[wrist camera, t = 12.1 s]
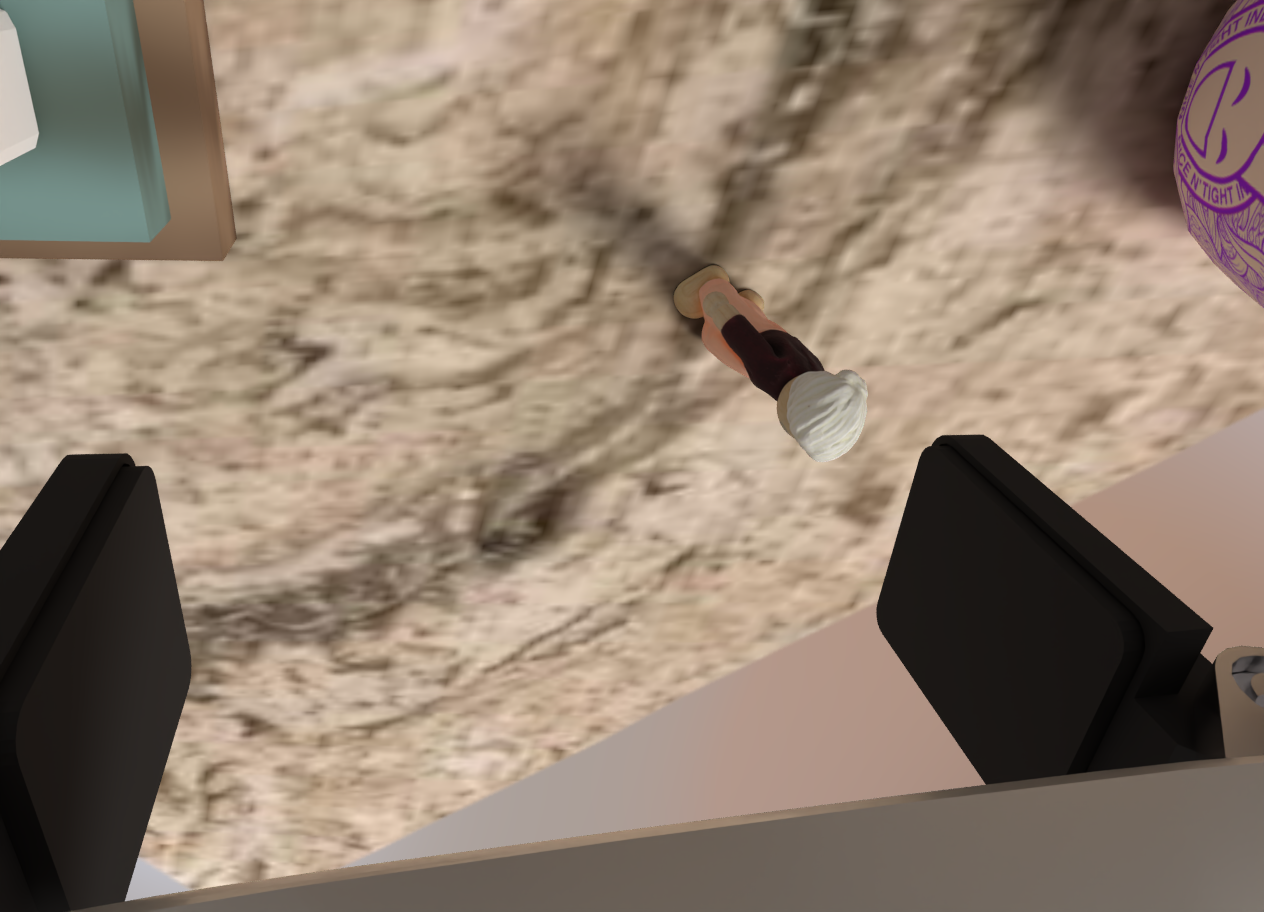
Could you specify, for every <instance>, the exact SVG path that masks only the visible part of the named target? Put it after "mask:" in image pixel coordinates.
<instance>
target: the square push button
mask: <svg viewBox="0 0 1264 912" xmlns="http://www.w3.org/2000/svg"><path fill="white" fill-rule="evenodd" d="M0 9H2V10H4V11H6V12H7V13H8V15H9V17H10V19H11V21H12V23H13V25H14V26H15V28H16V31H17V36H18V40H19V45H20V49H21V54H22V58H23V63H24V67H25V72H26V76H27V81H28V86H29V90H30V95H31V99H32V104H33V108H34V113H35V117H36V122H37V127H38V131H39V135H38V139H37V144H36V148H34V149H32V150H30V151H28V152H26V153H24V154H22V155H20V156H19V157H17V158H15V159H13V160H11V161H9V162H7V163H5V164H3V165H1V166H0V258H36V259H115V260H194V261H223V260H224V258H225V257H226V255H227V253H228V252H229V250H230V248H231V247H232V245H233V244H234V242H235V240H236V239H237V238H236V231H235V223H234V216H233V209H232V202H231V195H230V188H229V181H228V174H227V166H226V159H225V152H224V145H223V138H222V131H221V124H220V116H219V109H218V102H217V95H216V88H215V81H214V74H213V66H212V59H211V52H210V45H209V38H208V31H207V24H206V16H205V9H204V2H203V0H0Z"/></svg>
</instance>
